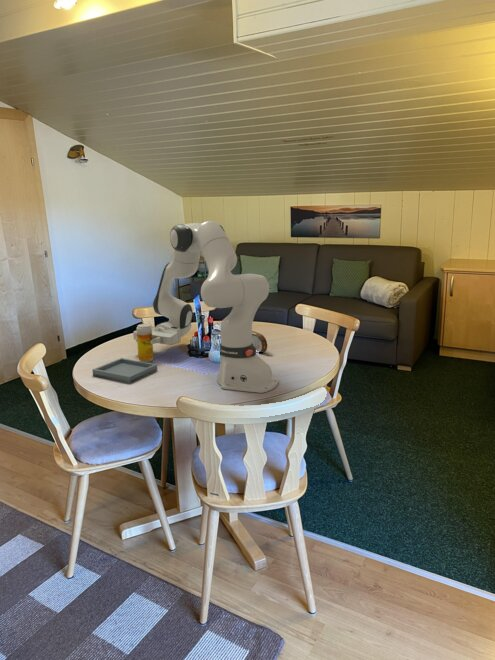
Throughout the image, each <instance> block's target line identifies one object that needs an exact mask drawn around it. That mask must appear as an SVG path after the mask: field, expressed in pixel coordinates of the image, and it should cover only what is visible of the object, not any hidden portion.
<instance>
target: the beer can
mask: <svg viewBox="0 0 495 660" xmlns="http://www.w3.org/2000/svg"><path fill="white" fill-rule="evenodd" d="M136 326H137V327H136V331H137V342H136V343H137V355H138V356H137V358H138V361H141V362H146V363H151V362H152V361H153V360H154V346H153V345H154V344H149V340H150V339H152V329H153V327H152V325H151V324H149V323H140V324H138V325H136Z"/></svg>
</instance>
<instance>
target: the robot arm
mask: <svg viewBox="0 0 495 660" xmlns="http://www.w3.org/2000/svg"><path fill="white" fill-rule="evenodd" d="M169 239H170V240H169V241H170V245H171V247H172V248H173V251H172V257H171V261H170V262H168V263H167V264H165V266H164V268H163V271H162V274H161V278H160V280H159V284H158V288H157V293H156V294H155V297H154V299H153V301H152V307H153V308H152V309H153V311H154V313H155V314H157V315H159V316H162V317H164V318H167V319H169V320H168V321H164V322H161V323H159V324H157V325H156V326H155V327H154V329H153V328H152V339H150V340H149V344H153V345H154V344H161V345H167V346H172V345H176V344H180V343H181V341H182V337H185V336H186V335H187V334H189V332H190V331H191V329H192V320H193V317H194V312H193V307H192V305H191V304H190V303H187V302H186V301H183V300H182V299H179V298H177V297H175V296H173V295H172V293H171V288H172V286H173V282H174V279H186V278H190V277H192V276H194V275H195V273H196V272H198V269H199V263H200V255H201V254H202V256H203V259H204V260H205V263H206V267H207V269H208V274H207V278H206V279H205V280H204V281H203V283H202V285H201V288H200V296H201V299H202V302H203V304H205V305H206V307H209V308H214V309H224V308H225V309H227V308H232V309H231V311H230V313H229V314H228V315H227V316H226V317H225V318H223V319H222V321H221V323H220V343H219V357H220V363H219V369H218V370H219V372H218V376H217V379H216V382H217V383H218V384H219V385H220V388H221V389H222V390H231V391H238V392H239V391H241V392H249V393H258V394H263V393H266V392H270V391H272V390H273V389H275V388H276V387H277V386H278V385H279V379H278V378H277V377H274V376H273V372H272V367H271V365H269V364H268V363H267V362H266V361H265V360H264V359H263V358H261V357H260V356H259V355H258V353H257V352H256V350H257V349H258V346H257V347H254V346H253V344H252V331H253V322H254V318H255V316H256V313H257V310H258V309H259V307H260V306H261V304H262V303H263V302H264V301H266V300H267V298H268V296H269V293H270V284H269V282H268V280H267V278H266V276H264V275H261V274H256V273H241V274H240V273H239V274H233V272H232V270H233V269H234V268H235V267H236V266H237V262H238V256H237V254H236V252H235V250H234V247H233V245H232V243H231V241H230V239H229V237H228V235H227V234H226V231H225V230H224V227H223V226H222V225H221V224H219V223H218V222H216V221H214V220H206V221H204V222H202V223H201V222H190V223H179V224H175V225H174V226H173V227H172V228H171V229H170V233H169ZM132 336H133V337H132V338H133V339H134V340H135V342H136V343H137V330H134V331H133V333H132Z"/></svg>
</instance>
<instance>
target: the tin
mask: <svg viewBox="0 0 495 660" xmlns="http://www.w3.org/2000/svg"><path fill="white" fill-rule="evenodd" d="M252 344H253V346H254V347H257V346H258V349H257V351H259V352H263V353H266V352H267V350H268V341H267V339H266V337H265V336H264V335H263V334H262V333H260V332H256V331H254V330H252Z"/></svg>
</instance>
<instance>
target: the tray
mask: <svg viewBox="0 0 495 660" xmlns="http://www.w3.org/2000/svg"><path fill="white" fill-rule="evenodd" d="M157 371H158V364H157V363H151V362H141V361H140V360H136V359H135V360H134V359H128V358H124V357H119V358H117V359H115V360H113V361H110V362H108V363H106V364H103V365H100V366H98V367H95V368H93V369H92V376H93V377H97V378H101V379H106V380H111V381H115V382H121V383H126V384H132V383H134V382H136V381H138V380H141V379H143V378H144V377H147V376H149V375H151V374H152V373H156V372H157Z"/></svg>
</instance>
